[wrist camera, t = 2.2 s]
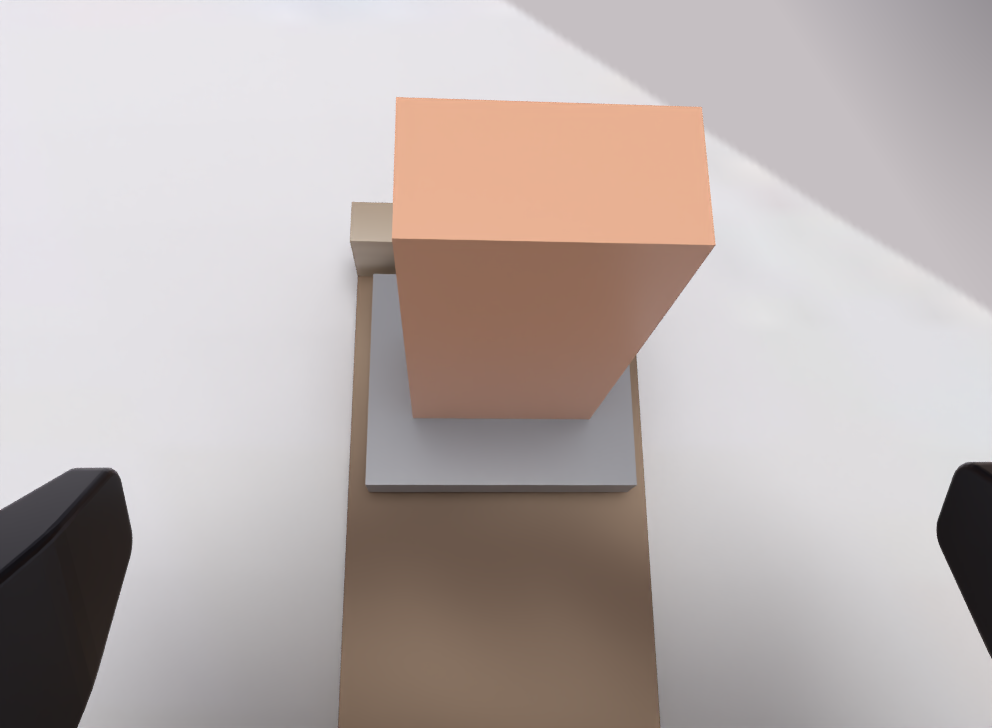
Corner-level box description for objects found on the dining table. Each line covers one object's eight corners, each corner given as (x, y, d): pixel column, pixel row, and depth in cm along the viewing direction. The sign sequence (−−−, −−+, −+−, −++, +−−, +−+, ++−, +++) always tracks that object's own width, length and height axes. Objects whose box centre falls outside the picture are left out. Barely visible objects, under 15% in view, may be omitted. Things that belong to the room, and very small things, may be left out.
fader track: (666, 999, 18) (710, 1070, 15) (330, 1013, 17) (309, 1089, 14) (621, 261, 23) (647, 209, 20) (362, 256, 22) (351, 201, 19)
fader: (627, 492, 19) (808, 360, 10) (369, 492, 19) (300, 354, 10) (615, 294, 21) (763, 16, 11) (376, 290, 21) (324, -2, 11)
